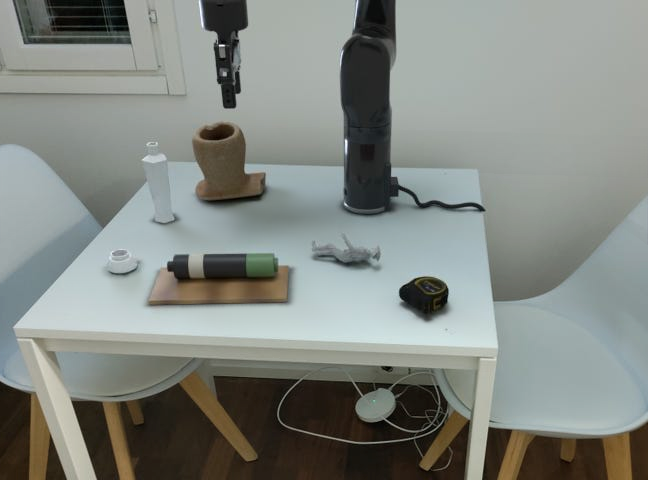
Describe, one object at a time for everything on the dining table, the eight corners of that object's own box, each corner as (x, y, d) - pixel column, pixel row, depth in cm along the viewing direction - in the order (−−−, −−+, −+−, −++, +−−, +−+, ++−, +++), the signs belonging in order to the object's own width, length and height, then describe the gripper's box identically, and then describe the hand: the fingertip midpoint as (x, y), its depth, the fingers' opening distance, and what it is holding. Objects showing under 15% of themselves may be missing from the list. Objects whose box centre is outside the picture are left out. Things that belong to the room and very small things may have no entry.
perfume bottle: (171, 224, 136) (159, 149, 128) (150, 222, 137) (136, 147, 128) (181, 215, 140) (169, 140, 131) (160, 213, 141) (147, 139, 132)
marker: (164, 272, 114) (166, 250, 116) (170, 282, 118) (171, 261, 120) (276, 270, 115) (277, 248, 116) (278, 281, 119) (278, 259, 120)
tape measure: (396, 302, 113) (397, 282, 111) (429, 290, 116) (430, 270, 114) (422, 321, 109) (424, 301, 106) (456, 308, 112) (458, 288, 109)
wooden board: (288, 269, 122) (288, 265, 122) (286, 302, 113) (286, 298, 113) (161, 271, 121) (161, 267, 121) (149, 305, 112) (148, 300, 112)
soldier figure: (326, 251, 130) (386, 240, 125) (326, 276, 128) (388, 265, 124) (307, 236, 123) (370, 224, 118) (307, 263, 121) (371, 251, 117)
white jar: (124, 258, 125) (101, 270, 122) (121, 243, 123) (98, 254, 120) (143, 266, 123) (121, 278, 120) (140, 251, 121) (118, 262, 118)
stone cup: (196, 210, 142) (185, 136, 133) (196, 187, 152) (186, 117, 143) (270, 204, 144) (265, 131, 135) (266, 182, 154) (261, 113, 145)
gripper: (204, -12, 117) (215, 89, 127) (192, 4, 105) (205, 113, 115) (249, -12, 117) (257, 89, 127) (242, 3, 106) (251, 113, 115)
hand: (232, 100), depth 121 cm, fingers open, 8 cm apart
